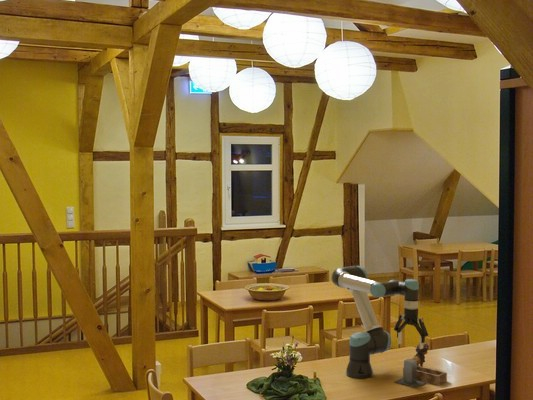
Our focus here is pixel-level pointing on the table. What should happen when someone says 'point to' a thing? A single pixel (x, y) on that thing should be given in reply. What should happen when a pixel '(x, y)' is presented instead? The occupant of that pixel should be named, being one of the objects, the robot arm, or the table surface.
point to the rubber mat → (415, 385)
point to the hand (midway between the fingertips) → (410, 346)
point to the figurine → (421, 354)
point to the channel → (430, 375)
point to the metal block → (410, 371)
